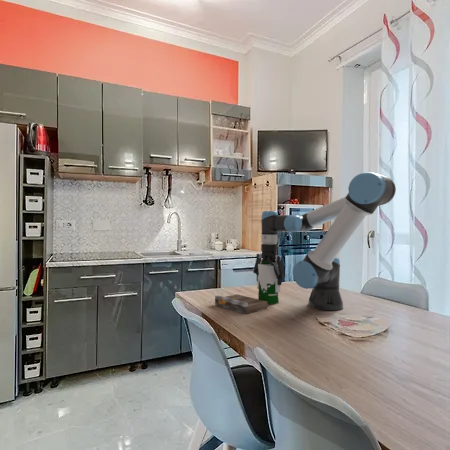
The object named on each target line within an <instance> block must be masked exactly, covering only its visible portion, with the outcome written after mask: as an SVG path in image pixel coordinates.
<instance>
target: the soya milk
mask: <svg viewBox="0 0 450 450" xmlns="http://www.w3.org/2000/svg"><path fill="white" fill-rule="evenodd" d="M258 270H259V289H258V295H257V297H258V298H257V299H259V300H263V301H267V305H271V304H272V305H273V304H279V303H280V302H279V292H277V293H276V292H275V278H277V276H276V274H275V272H274V267H273V266H272V265H271V264H270V263H266V260H265V261H264V263H263V264H261V263H260V264H258Z"/></svg>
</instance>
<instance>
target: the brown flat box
mask: <svg viewBox="0 0 450 450" xmlns="http://www.w3.org/2000/svg"><path fill="white" fill-rule="evenodd" d="M214 306H217V307H220V308H222V309H227V310H230V311H233V312H237V313H240V314H243V315H249V314H252V313H256V312H258V311H264V310H265V309H268V304H267V301H263V300H259V299H258V298H254V297H250V296H246V295H241V294H230V295H226V296H221V295H218V294H216V295H215V296H214Z"/></svg>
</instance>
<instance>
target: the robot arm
mask: <svg viewBox="0 0 450 450" xmlns="http://www.w3.org/2000/svg"><path fill="white" fill-rule="evenodd" d="M347 188H348V193H347V194H346V196H344V197H342V198H340V199H336V200H335V201H332V202H330V203H326V204H325V205H323V206H320V207H318V208H316V209H313V210H311V211H308V212H306V213H304V214H300V215H297V214H287V215H285V214H284V215H283V214H282V215H281V214H280V215H279V213H278V211H277V210H264V211H262V213H261V236H260V237H261V240H260V241H261V244H260V245H261V247H260V250H261V253H257V254H256V259H255V263H254V268H253V274H256V282H257V286H256V287H257V289H258V290H259V270H258V264H263V263H264V261H265V260H266V263H270V264H271V265H272V266H273V267H274V272H275V274H276V276H277V278H275V292H276V293H277V292H278V293H280V292H281V286H282V279H283V278H286V272H285V268H284V264H283V256H282V255H278V254H277V252H278V244H277V243H278V232H285V233H287V232H289V233H297V232H298V233H299V232H304V233H305V232H309V231H311V230H313V228H317V227H318V226H321V225H323V224H326V223H329V222H332V224H331V225H330V227H329V228H328V229H327V231H326V232H325V234H324V235H323V237H322V238H321V239H320V241H319V243H318V244H317V245H316V247H315V248H314V249H313V250H310V251H308V252H307V253H306V255H305V256H304V257H303V259H302V260H299V261H298V262H296V263H295V264H294V265H293V267H292V268H293V269H292V276H293V279H294V282H295V283H296V284H297V286H299V287H300V288H302V289H309V290H310V289H311V292H310V295H309V297H308V306H309V307H311V308H313V309H317V310H321V311H338V310H343V308H344V302H343V299H342V295H341V292H340V278H341V277H340V274H341V273H340V272H341V270H340V268H341V264H340V263H341V262H340V258H339V257H337V256H338V254H339V253H341V251H342V250H343V248H344V247H345V245H346V244H347V242H348V241H349V240H350V238H351V237H352V235H353V234H354V233H355V232H356V230H357V228H358V227H359V226H360V224H361V223H362V222H363V220H364V219H365V218H366V216H371V215H373V214H374V213H375V211H376V210H377V209H378V207H379V206H383V205H386V204H388V203H389V202H390V201H392V200H393V199H394V197H395V195H396V189H397V188H396V184H395V183H394V181H393V180H392V179H391V178H390V177H388V176H387V175H382V174H380V173H377V172H373V171H365V172H360V173H358V174H357V175H354V177H353V178H352V179H351V180H350V181H349V185H348V187H347Z"/></svg>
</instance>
